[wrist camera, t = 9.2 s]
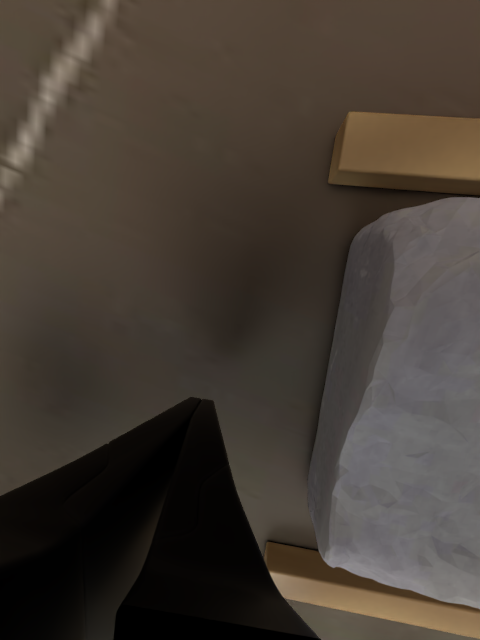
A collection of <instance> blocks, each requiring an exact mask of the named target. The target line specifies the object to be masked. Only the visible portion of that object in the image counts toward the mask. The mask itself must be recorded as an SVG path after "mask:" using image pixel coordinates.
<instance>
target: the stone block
mask: <svg viewBox="0 0 480 640" xmlns="http://www.w3.org/2000/svg"><path fill="white" fill-rule="evenodd" d="M308 507H309V511H310V516H311V519H312V522H313V525H314V529H315V534H316V540H317V545H318V550H319V553H320V554H321V556H322V558H323V560H324V561H325V562H326V563H327V564H328V565H329V566H331V567H333V568H335V567H341V568H344V569H346V570H347V571H349V572H351V573H353V574H356V575H359V576H361V577H365V578H370V579H373V580H375V581H377V582H379V583H382V584H385V585H389V586H392V587H396V588H400V589H408V590H412V591H414V592H417V593H420V594H423V595H425V596H428V597H431V598H434V599H437V600H440V601H443V602H447V603H456V604H464V605H468V606H471V607H475V608H478V609H480V198H470V197H451V198H445V199H440V200H437V201H434V202H430V203H427V204H424V205H420V206H415V207H410V208H404V209H400V210H396V211H393V212H390V213H387V214H385V215H382V216H381V217H380V218H379V219H378V220H376V221H374V222H373V223H371V224H369V225H367V226H365V227H363V228H362V229H361V230H360V231H359V232H358V233H357V234H356V236H355V237H354V239H353V241H352V244H351V246H350V249H349V255H348V260H347V264H346V268H345V273H344V279H343V285H342V292H341V298H340V304H339V309H338V314H337V320H336V325H335V331H334V337H333V343H332V348H331V353H330V359H329V364H328V369H327V377H326V382H325V387H324V393H323V397H322V402H321V408H320V415H319V422H318V428H317V434H316V439H315V444H314V448H313V453H312V458H311V463H310V469H309V474H308Z"/></svg>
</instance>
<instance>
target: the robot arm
mask: <svg viewBox="0 0 480 640" xmlns="http://www.w3.org/2000/svg"><path fill="white" fill-rule="evenodd" d="M0 640H321V639H320V638H319V637H318V636H317V635H316V634H315V633H314V631H313V630H312V629H311V628H310V627H309V626H308V625H307V624H306V623H305V622H304V621H303V619H302V618H301V617H300V616H299V615H298V614H297V613H296V612H295V611H294V610H293V608H292V607H291V606H290V605H289V604H288V603H287V602H286V600H285V599H284V597H283V596H282V595H281V593H280V592H279V590H278V588H277V586H276V585H275V583H274V581H273V579H272V577H271V575H270V572H269V570H268V568H267V566H266V563H265V561H264V558H263V556H262V554H261V551H260V549H259V546H258V544H257V541H256V539H255V537H254V534H253V532H252V529H251V527H250V524H249V522H248V520H247V517H246V515H245V512H244V510H243V507H242V504H241V502H240V499H239V496H238V494H237V491H236V487H235V484H234V480H233V477H232V473H231V469H230V466H229V462H228V458H227V453H226V449H225V445H224V441H223V437H222V433H221V429H220V425H219V421H218V417H217V413H216V409H215V405H214V401H213V400H207V399H202V400H201V399H200V398H195V397H190V398H188V399H186V400H184V401H182V402H181V403H179V404H177V405H175V406H173V407H172V408H170V409H168V410H166V411H164V412H163V413H161V414H159V415H157V416H155V417H154V418H152V419H150V420H148V421H146V422H145V423H143V424H141V425H139V426H137V427H136V428H134V429H132V430H130V431H128V432H127V433H125V434H123V435H121V436H119V437H118V438H116V439H114V440H112V441H110V442H109V444H105V445H103V446H101V447H99V448H98V449H96V450H94V451H92V452H90V453H88V454H86V455H85V456H83V457H81V458H79V459H77V460H75V461H73V462H71V463H69V464H67V465H65V466H63V467H61V468H59V469H57V470H55V471H53V472H51V473H49V474H46V475H44V476H42V477H40V478H38V479H36V480H34V481H31V482H29V483H27V484H25V485H23V486H21V487H19V488H17V489H14V490H12V491H10V492H8V493H6V494H4V495H2V496H0Z"/></svg>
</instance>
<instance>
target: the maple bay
mask: <svg viewBox="0 0 480 640" xmlns="http://www.w3.org/2000/svg"><path fill="white" fill-rule="evenodd" d="M328 183H330V184H339V185H352V186H364V187H377V188H390V189H403V190H416V191H428V192H441V193H454V194H467V195H479V196H480V119H478V118H460V117H442V116H424V115H406V114H388V113H370V112H353V111H351V112H349V113H348V114H347V116H346V118H345V120H344V121H343V123H342V125H341V127H340V129H339V131H338V132H337V134H336V137H335V143H334V149H333V155H332V161H331V167H330V173H329V178H328ZM264 561H265V563H266V566H267V568H268V570H269V572H270V575H271V577H272V579H273V581H274V583H275V585H276V586H277V588H278V590H279V592H280V593H281V595H282V596H283V597H284V598H285V599H290V600H295V601H300V602H305V603H310V604H314V605H319V606H324V607H329V608H334V609H339V610H343V611H348V612H353V613H358V614H363V615H368V616H372V617H377V618H382V619H387V620H392V621H396V622H401V623H406V624H411V625H416V626H421V627H425V628H430V629H435V630H440V631H445V632H450V633H454V634H459V635H464V636H469V637H474V638H479V639H480V609H478V608H475V607H471V606H468V605H464V604H456V603H447V602H443V601H440V600H437V599H434V598H431V597H428V596H425V595H423V594H420V593H417V592H414V591H412V590H408V589H400V588H396V587H392V586H389V585H385V584H382V583H379V582H377V581H375V580H373V579H370V578H365V577H361V576H359V575H356V574H353V573H351V572H349V571H347V570H346V569H344V568H341V567H335V568H333V567H331V566H329V565H328V564H327V563H326V562H325V561H324V560H323V558H322V556H321V554H320V553H319V551H314V550H309V549H304V548H299V547H293V546H288V545H283V544H278V543H272V542H267V543H266V549H265V555H264Z"/></svg>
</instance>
